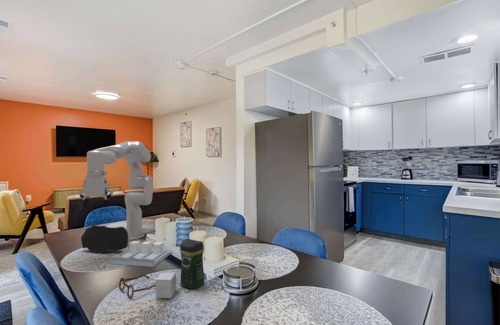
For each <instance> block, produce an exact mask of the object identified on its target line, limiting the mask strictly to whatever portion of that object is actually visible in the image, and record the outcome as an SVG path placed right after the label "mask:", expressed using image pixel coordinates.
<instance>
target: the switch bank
mask: <svg viewBox="0 0 500 325" xmlns="http://www.w3.org/2000/svg"><path fill="white" fill-rule="evenodd" d="M165 249H166V250H164V251H163V252H161V253H160V254H153V247H152V250H151V251H150V252H148V253H141V249H140V250H139V251H137V252H135V253H134V252H130V249H129V248H128V249H126V250H125V251H122V252H120V253H119V254H117V255H114V256H113V255H112V256H110V257H109V263H110V265H121V266H122V265H123V266H136V267H149V268H153V267H155V266H157V265H158V264H159V263H161V262H163V260H165V259H166V258H168V256H170V255H171V254H169V252H168V251H167V248H165Z"/></svg>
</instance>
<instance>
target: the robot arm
mask: <svg viewBox="0 0 500 325" xmlns="http://www.w3.org/2000/svg"><path fill="white" fill-rule="evenodd" d="M151 157H152V156H151V152H150V150H149V149H148V148H147V146H145V145H144V143H143V142H141V141H140V140H139V141H136V140H135V141H133V140H131V141H129V140H127V141H123V142H120V143H117V144H115V145H110V146H105V147H100V148H95V149H93V150H89V151H87V152H86V168H87V169H86V175H87V176H86V177H85V179H84V180H85V181H84V188H82V189H80V190H79V191H78V192H77V194H78V195H79V198H81V199H82V201H83V209H85V208H89V207H90V199H89V197H103V207H104V208H107V207H109V202H110V201H109V200H110V199H111V197H112V196H113V194H114V192H115V191H114V190H113V189H110V188H109V184H108V179H107V177H106V176H105V175H108V174H107V172H106V171H105V165H112V164H113V165H114V164H115V163H116V162H117V160H120V159H122V158H123V159H124V160H125V161H126V163H127V165H128V166H129V175H128V176H129V177H128V187H129V189H131V190H133V191H127V193H125V195H124V203H125V207H126V208H125V209H126V230H127V231H128V241H131V240H133V241H134V240H139V239H141V238H144V237H145V233H143V232H145V231H146V228H145V227H143V221H142V220H143V217H142V216H143V215H142V214H143V211H142V208H141V207H140V206H148V205H151V203H152V200H153V193H154V180H153V177H152V176H151V175H144V168H143V166H142V165H141V163H148V162H150V161H151V159H152V158H151ZM135 190H136V191H135ZM140 190H141V191H140Z"/></svg>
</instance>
